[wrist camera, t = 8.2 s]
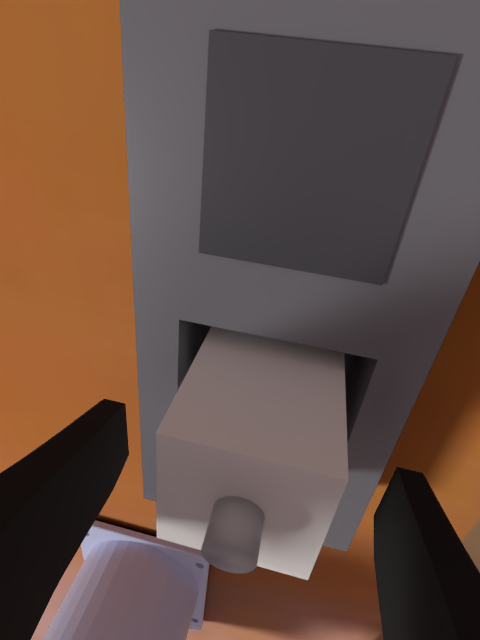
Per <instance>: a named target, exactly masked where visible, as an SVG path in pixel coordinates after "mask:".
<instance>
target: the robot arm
mask: <svg viewBox="0 0 480 640" xmlns="http://www.w3.org/2000/svg"><path fill="white" fill-rule="evenodd" d="M128 455H129V449H128V436H127V422H126V408H125V404H124V403H120V402H116V401H111V400H107V399H103V400H102V401H100V402H99V403H98V404H96V405H95V406H94V407H92V408H91V409H90V410H88V411H87V412H86V413H84V414H83V415H82V416H80V417H79V418H78V419H76V420H75V421H74V422H72V423H71V424H70V425H68V426H67V427H66V428H64V429H63V430H62V431H60V432H59V433H58V434H56V435H55V436H53V437H52V438H51V439H49V440H48V441H47V442H45V443H44V444H42V445H41V446H40V447H38V448H37V449H35V450H34V451H33V452H31V453H30V454H28V455H27V456H25V457H24V458H23V459H21V460H20V461H18V462H17V463H15V464H14V465H12V466H10V467H9V468H7V469H6V470H4V471H3V472H1V473H0V640H31V638H32V635H33V633H34V631H35V629H36V627H37V625H38V623H39V621H40V619H41V617H42V615H43V613H44V611H45V609H46V607H47V605H48V602H49V600H50V598H51V596H52V594H53V592H54V590H55V588H56V587H57V585H58V583H59V581H60V579H61V578H62V576H63V574H64V572H65V570H66V569H67V567H68V565H69V564H70V562H71V560H72V559H73V557H74V555H75V553H76V552H77V550H78V548H79V547H80V545H81V549H82V553H83V558H84V563H83V565H82V566H81V568H80V570H79V572H78V574H77V576H76V578H75V580H74V581H73V583H72V585H71V587H70V589H69V591H68V593H67V595H66V596H65V598H64V600H63V602H62V604H61V606H60V608H59V610H58V611H57V613H56V615H55V617H54V619H53V621H52V623H51V625H50V626H49V628H48V630H47V632H46V634H45V636H44V638H43V640H186V637H187V634H188V630H189V629H193V630H201V628H202V624H203V617H204V608H205V600H206V591H207V582H208V573H209V565H210V564H209V563H208V562H207V561H206V560H205V559H204V557H203V556H202V554H201V550H198V549H195V548H191V547H188V546H184V545H180V544H177V543H173V542H170V541H166V540H163V539H159V538H157V537H154V536H151V535H147V534H143V533H140V532H136V531H133V530H129V529H125V528H122V527H118V526H114V525H111V524H107V523H104V522H100V521H96V518H97V516H98V515H99V513H100V511H101V510H102V508H103V506H104V504H105V503H106V501H107V499H108V498H109V496H110V494H111V492H112V491H113V489H114V486H115V484H116V482H117V480H118V478H119V476H120V473H121V471H122V469H123V467H124V464H125V462H126V460H127V457H128ZM374 562H375V571H376V580H377V588H378V597H379V605H380V613H381V621H382V630H383V638H384V640H480V573H479V571H478V569H477V568H476V566H475V565H474V563H473V561H472V559H471V558H470V556H469V554H468V553H467V551H466V550H465V548H464V546H463V544H462V542H461V541H460V539H459V537H458V536H457V534H456V532H455V530H454V529H453V527H452V525H451V523H450V521H449V520H448V518H447V516H446V514H445V512H444V511H443V509H442V507H441V505H440V503H439V502H438V500H437V498H436V496H435V494H434V492H433V491H432V489H431V487H430V485H429V483H428V481H427V480H426V478H425V476H424V475H423V473H420V472H416V471H411V470H407V469H403V468H398V467H397V468H396V470H395V473H394V475H393V477H392V479H391V481H390V483H389V485H388V487H387V489H386V491H385V493H384V495H383V498H382V500H381V502H380V504H379V506H378V508H377V510H376V512H375V514H374Z"/></svg>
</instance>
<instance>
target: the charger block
mask: <svg viewBox="0 0 480 640" xmlns="http://www.w3.org/2000/svg"><path fill="white" fill-rule="evenodd" d="M348 480H349V479H348V449H347V419H346V389H345V359H344V353H342V352H337V351H332V350H327V349H322V348H317V347H312V346H307V345H302V344H297V343H292V342H287V341H282V340H278V339H273V338H268V337H263V336H258V335H253V334H248V333H243V332H238V331H233V330H228V329H223V328H218V327H213V326H211V328H210V330H209V332H208V334H207V336H206V338H205V340H204V342H203V343H202V345H201V347H200V349H199V351H198V353H197V355H196V357H195V359H194V361H193V363H192V364H191V366H190V368H189V370H188V372H187V374H186V376H185V378H184V380H183V382H182V384H181V385H180V387H179V389H178V391H177V393H176V395H175V397H174V399H173V401H172V403H171V405H170V406H169V408H168V410H167V412H166V414H165V416H164V418H163V420H162V422H161V424H160V426H159V427H158V429H157V431H156V513H157V538H159V539H163V540H166V541H170V542H173V543H177V544H180V545H184V546H188V547H191V548H195V549H198V550H201V554H202V556H203V557H204V559H205V560H206V561H207V562H208V563H209V564H211V565H212V566H214V567H216V568H218V569H220V570H222V571H225V572H229V573H235V574H244V573H249V572H251V571H253V570H254V569H255V568H256V566H259V567H262V568H266V569H269V570H273V571H276V572H280V573H283V574H287V575H290V576H294V577H298V578H301V579H305V580H308V579H309V576H310V574H311V572H312V569H313V567H314V564H315V562H316V559H317V557H318V554H319V552H320V549H321V547H322V544H323V542H324V540H325V537H326V535H327V532H328V530H329V527H330V525H331V522H332V520H333V517H334V515H335V512H336V510H337V508H338V505H339V503H340V500H341V498H342V495H343V493H344V490H345V488H346V485H347V483H348Z"/></svg>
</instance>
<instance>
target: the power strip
mask: <svg viewBox="0 0 480 640" xmlns="http://www.w3.org/2000/svg"><path fill="white" fill-rule="evenodd" d="M120 20H121V40H122V61H123V81H124V102H125V122H126V143H127V163H128V184H129V204H130V225H131V245H132V265H133V286H134V306H135V327H136V347H137V368H138V388H139V409H140V429H141V450H142V470H143V491H144V498H145V499H148V500H152V501H156V431H157V429H158V427H159V426H160V424H161V422H162V420H163V418H164V416H165V414H166V412H167V410H168V408H169V406H170V405H171V403H172V401H173V399H174V397H175V395H176V393H177V391H178V389H179V387H180V385H181V384H182V382H183V380H184V378H185V376H186V374H187V372H188V370H189V368H190V366H191V364H192V363H193V361H194V359H195V357H196V355H197V353H198V351H199V349H200V347H201V345H202V343H203V342H204V340H205V338H206V336H207V334H208V332H209V330H210V328H211V326H213V327H218V328H223V329H228V330H233V331H238V332H243V333H248V334H253V335H258V336H263V337H268V338H273V339H278V340H282V341H287V342H292V343H297V344H302V345H307V346H312V347H317V348H322V349H327V350H332V351H337V352H342V353H344V359H345V389H346V419H347V449H348V479H349V480H348V483H347V485H346V488H345V490H344V493H343V495H342V498H341V500H340V503H339V505H338V508H337V510H336V512H335V515H334V517H333V520H332V522H331V525H330V527H329V530H328V532H327V535H326V537H325V540H324V542H323V544H322V546H326V547H330V548H333V549H337V550H341V551H345V552H347V550H348V548H349V546H350V543H351V541H352V539H353V537H354V535H355V532H356V530H357V528H358V526H359V524H360V522H361V519H362V517H363V515H364V513H365V511H366V508H367V506H368V504H369V502H370V500H371V498H372V495H373V493H374V491H375V489H376V487H377V484H378V482H379V480H380V478H381V476H382V474H383V471H384V469H385V467H386V465H387V463H388V460H389V458H390V456H391V454H392V452H393V450H394V447H395V445H396V443H397V441H398V439H399V436H400V434H401V432H402V430H403V428H404V426H405V423H406V421H407V419H408V417H409V415H410V412H411V410H412V408H413V406H414V404H415V402H416V399H417V397H418V395H419V393H420V391H421V388H422V386H423V384H424V382H425V380H426V378H427V375H428V373H429V371H430V369H431V367H432V364H433V362H434V360H435V358H436V356H437V354H438V351H439V349H440V347H441V345H442V343H443V340H444V338H445V336H446V334H447V332H448V330H449V327H450V325H451V323H452V321H453V319H454V316H455V314H456V312H457V310H458V308H459V306H460V303H461V301H462V299H463V297H464V295H465V292H466V290H467V288H468V286H469V284H470V282H471V279H472V277H473V275H474V273H475V271H476V268H477V266H478V264H479V262H480V0H120Z"/></svg>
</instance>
